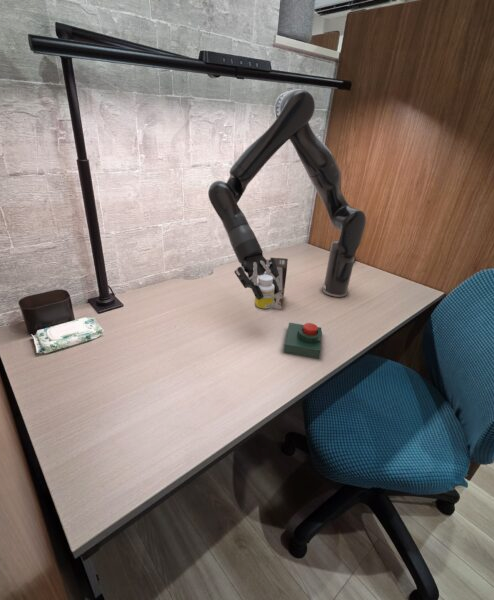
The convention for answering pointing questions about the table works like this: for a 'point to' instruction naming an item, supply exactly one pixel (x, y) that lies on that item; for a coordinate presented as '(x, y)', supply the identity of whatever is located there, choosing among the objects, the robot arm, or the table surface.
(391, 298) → the table surface
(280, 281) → the coffee box
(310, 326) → the button
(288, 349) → the console
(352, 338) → the table surface
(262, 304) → the supplement bottle
